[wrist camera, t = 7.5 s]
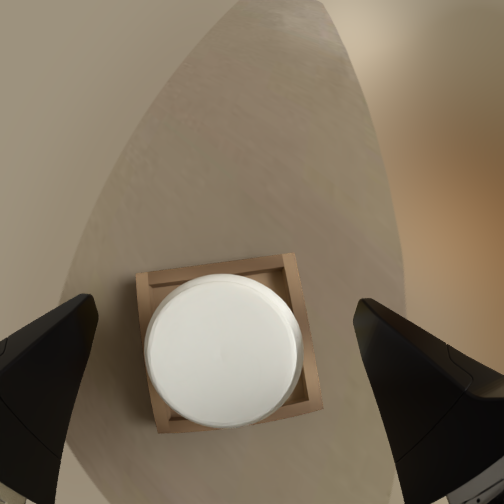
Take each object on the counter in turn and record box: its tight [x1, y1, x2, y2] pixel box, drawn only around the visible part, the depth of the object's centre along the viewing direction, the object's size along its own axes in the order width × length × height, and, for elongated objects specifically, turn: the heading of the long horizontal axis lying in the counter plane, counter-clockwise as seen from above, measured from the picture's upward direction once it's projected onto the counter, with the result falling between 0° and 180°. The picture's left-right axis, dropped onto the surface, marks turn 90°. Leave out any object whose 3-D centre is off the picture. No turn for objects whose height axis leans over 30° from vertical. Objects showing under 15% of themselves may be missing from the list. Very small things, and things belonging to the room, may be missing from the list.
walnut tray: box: [136, 253, 323, 433], centre depth 16 cm, size 10×10×2 cm
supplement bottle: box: [144, 274, 304, 429], centre depth 11 cm, size 6×6×10 cm
